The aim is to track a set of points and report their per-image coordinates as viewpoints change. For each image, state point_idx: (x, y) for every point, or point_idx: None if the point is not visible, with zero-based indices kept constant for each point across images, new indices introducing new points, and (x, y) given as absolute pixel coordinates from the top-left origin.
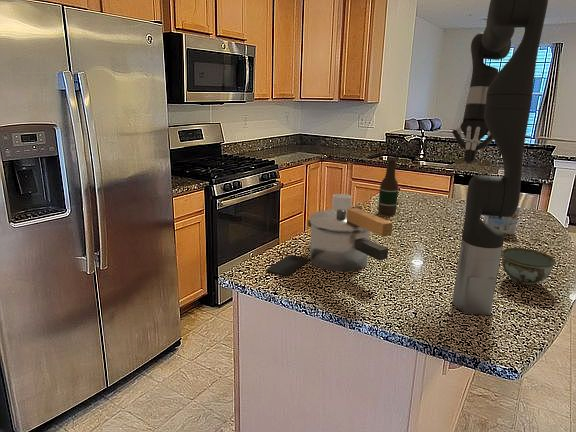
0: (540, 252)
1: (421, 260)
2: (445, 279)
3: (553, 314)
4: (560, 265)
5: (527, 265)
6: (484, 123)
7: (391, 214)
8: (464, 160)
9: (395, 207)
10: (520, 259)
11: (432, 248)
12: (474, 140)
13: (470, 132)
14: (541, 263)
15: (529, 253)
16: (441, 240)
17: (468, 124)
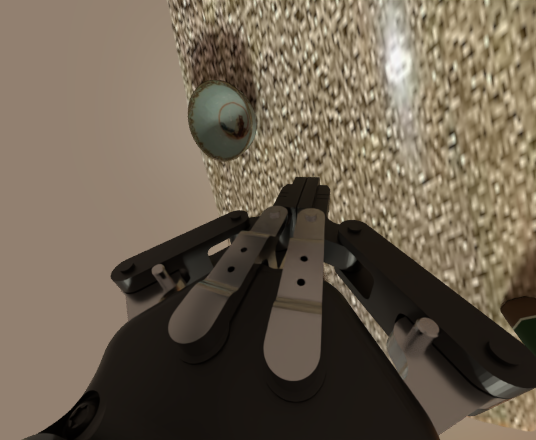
0: (214, 157)
1: (391, 83)
2: (326, 20)
3: (182, 32)
4: (226, 210)
5: (207, 82)
6: (120, 390)
7: (511, 301)
8: (327, 186)
9: (511, 319)
10: (241, 149)
11: (384, 165)
12: (257, 237)
13: (281, 295)
14: (217, 149)
15: (228, 156)
16: (377, 214)
17: (310, 435)
